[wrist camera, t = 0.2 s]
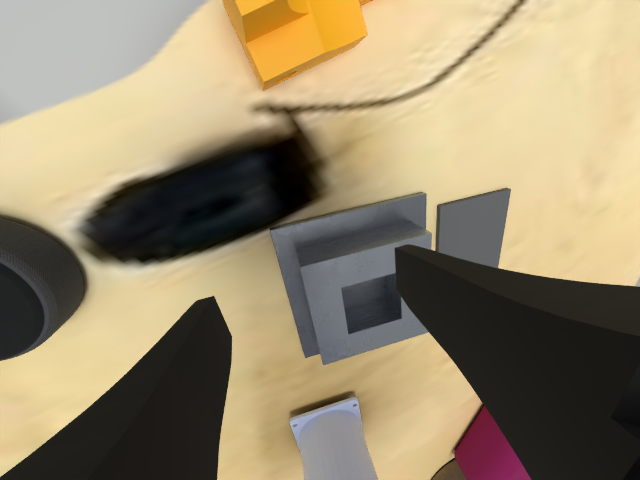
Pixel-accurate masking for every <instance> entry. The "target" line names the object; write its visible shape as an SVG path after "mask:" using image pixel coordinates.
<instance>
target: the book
mask: <svg viewBox="0 0 640 480" xmlns="http://www.w3.org/2000/svg"><path fill="white" fill-rule="evenodd" d="M454 454H455V459H456V461H457V463H458V465H459V467H460V469H461V471H462V472H463V474H464V476H465V477H466V479H467V480H531V478H530V477H529V475H528V473H527V472H526V470H525V468H524V467H523V465H522V463H521V462H520V460H519V458H518V457H517V455H516V454H515V452H514V450H513V449H512V447H511V446H510V444H509V443H508V441H507V439H506V438H505V436H504V435H503V433H502V432H501V430H500V428H499V427H498V425H497V424H496V422H495V421H494V419H493V418H492V416H491V415H490V413H489V412H488V410H487V409H486V407H485V406H483V408H482V410H481V411H480V413H479V414H478V416H477V417H476V419H475V420H474V422H473V424H472V425H471V427H470V428H469V430H468V431H467V433H466V434H465V436H464V438H463V439H462V441H461V442H460V444H459V445H458V447H457V448H456V450H455V452H454Z"/></svg>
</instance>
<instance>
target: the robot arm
mask: <svg viewBox="0 0 640 480" xmlns="http://www.w3.org/2000/svg"><path fill="white" fill-rule="evenodd" d="M395 268H396V288H397V290H398V292H399V294H400V295H401V297H402V298H403V300H404V302H405V303H406V305H407V306H408V308H409V309H410V310H411V311H412V313H413V314H414V315H415V316H416V317H417V319H418V320H419V321H420V322H421V323H422V325H423V326H424V327H425V328H426V329H427V330H428V332H429V333H430V334H431V335H432V336H433V337H434V339H435V340H436V341H437V342H438V343H439V344H440V346H441V347H442V348H443V349H444V350H445V351H446V353H447V354H448V355H449V356H450V358H451V359H452V360H453V361H454V363H455V364H456V365H457V367H458V368H459V369H460V371H461V372H462V374H463V375H464V376H465V378H466V379H467V381H468V382H469V384H470V385H471V386H472V388H473V389H474V391H475V392H476V394H477V395H478V397H479V398H480V400H481V401H482V403H483V404H484V406H485V407H486V409H487V410H488V412H489V413H490V415H491V416H492V418H493V419H494V421H495V422H496V424H497V425H498V427H499V428H500V430H501V432H502V433H503V435H504V436H505V438H506V439H507V441H508V443H509V444H510V446H511V447H512V449H513V450H514V452H515V454H516V455H517V457H518V458H519V460H520V462H521V463H522V465H523V467H524V468H525V470H526V472H527V473H528V475H529V477H530V478H531V480H640V287H636V286H623V285H610V284H598V283H588V282H579V281H571V280H563V279H556V278H548V277H542V276H535V275H530V274H524V273H519V272H514V271H508V270H504V269H499V268H495V267H491V266H487V265H482V264H478V263H474V262H471V261H467V260H463V259H460V258H456V257H453V256H450V255H446V254H443V253H440V252H436V251H433V250H430V249H426V248H423V247H419V246H415V245H410V244H407V245H403V246H399V247H396V248H395ZM231 356H232V336H231V333H230V331H229V329H228V327H227V324H226V322H225V320H224V318H223V315H222V313H221V311H220V308H219V306H218V304H217V302H216V299H215V297H214V296H212V297H208V298H204V299H201V300H197V301H196V302H195V303H194V304H193V305H192V306H191V307H190V308H189V309H188V310H187V311H186V312H185V313H184V314H183V315H182V316H181V317H180V319H179V320H178V321H177V322H176V323H175V324H174V325H173V326H172V327H171V328H170V329H169V330H168V332H167V333H166V334H165V335H164V336H163V337H162V338H161V339H160V340H159V341H158V342H157V343H156V344H155V345H154V346H153V347H152V348H151V349H150V350H149V351H148V352H147V353H146V354H145V355H144V356H143V357H142V358H141V359H140V360H139V361H138V362H137V363H136V364H135V365H134V366H133V367H132V368H131V369H130V370H129V371H128V372H127V373H126V374H125V375H124V376H123V377H122V378H121V379H120V380H119V381H118V382H117V383H116V384H115V385H113V386H112V387H111V388H110V389H109V390H108V391H107V392H106V393H105V394H103V395H102V396H101V397H100V398H99V399H98V400H97V401H95V402H94V403H93V404H92V405H91V406H90V407H89V408H87V409H86V410H85V411H84V412H83V413H82V414H80V415H79V416H78V417H77V418H75V419H74V420H73V421H72V422H70V423H69V424H68V425H67V426H65V427H64V428H63V429H62V430H60V431H59V432H58V433H57V434H55V435H54V436H53V437H52V438H50V439H49V440H48V441H47V442H46V443H44V444H43V445H42V446H41V447H39V448H38V449H37V450H36V451H34V452H33V453H32V454H30V455H29V456H28V457H27V458H25V459H24V460H23V461H21V462H20V463H19V464H17V465H16V466H15V467H13V468H12V469H11V470H9V471H8V472H7V473H5V474H4V475H3V476H1V477H0V480H217V470H218V454H219V442H220V433H221V426H222V420H223V413H224V407H225V400H226V394H227V388H228V381H229V375H230V368H231ZM290 426H291V428H292V431H293V434H294V436H295V439H296V442H297V444H298V447H299V450H300V452H301V455H302V463H303V471H304V479H305V480H378V478H377V475H376V472H375V469H374V466H373V463H372V460H371V457H370V454H369V451H368V448H367V445H366V442H365V439H364V434H363V427H362V421H361V415H360V409H359V403H358V399H357V397H351V398H348V399H345V400H342V401H339V402H336V403H333V404H330V405H327V406H324V407H321V408H318V409H315V410H312V411H309V412H306V413H303V414H300V415H297V416H294V417H292V418H291V419H290Z"/></svg>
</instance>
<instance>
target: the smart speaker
mask: <svg viewBox="0 0 640 480" xmlns="http://www.w3.org/2000/svg"><path fill="white" fill-rule="evenodd" d="M83 290H84V286H83V279H82V276H81V273H80V270H79V268H78V266H77V265H76V263H75V261H74V260H73V259H72V257H71V256H70V255H69V254H68V253H67V252H66V251H65V250H64V249H63V248H62V247H61V246H60V245H59V244H57V243H56V242H55V241H54V240H52V239H50V238H49V237H47V236H46V235H44V234H42V233H40V232H39V231H37V230H34V229H32V228H30V227H28V226H25V225H23V224H20V223H17V222H14V221H10V220H6V219H2V218H0V361H2V360H6V359H11V358H14V357H17V356H20V355H22V354H25V353H27V352H29V351H31V350H33V349H35V348H36V347H38V346H40V345H41V344H42V343H43V342H45V341H46V340H47V339H48V338H50V337H51V336H52V335H53V334H54V333H55V332H56V331H57V330H58V329H59V328H60V327H61V326H62V325H63V324H64V323H65V322H66V321H67V320H68V319H69V318H70V317H71V316H72V315H73V314H74V312H75V311H76V310H77V308H78V307H79V305H80V303H81V300H82V296H83Z"/></svg>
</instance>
